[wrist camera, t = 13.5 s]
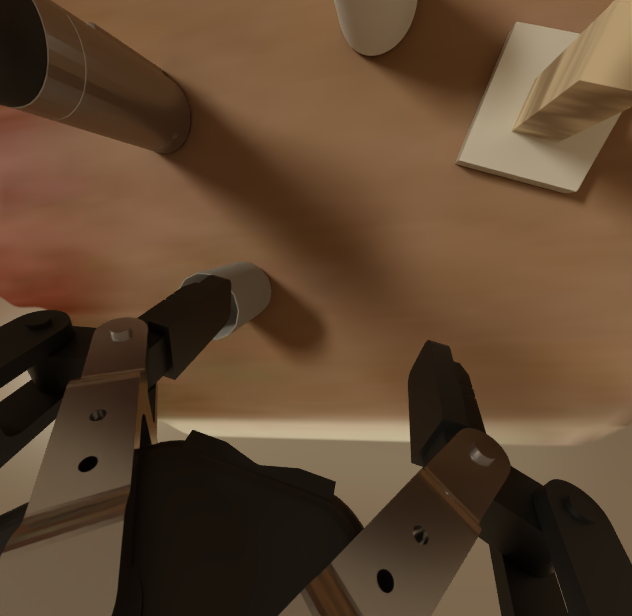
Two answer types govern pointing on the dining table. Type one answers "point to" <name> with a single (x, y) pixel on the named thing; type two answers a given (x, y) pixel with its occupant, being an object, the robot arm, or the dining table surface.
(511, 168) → the block
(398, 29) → the pill bottle
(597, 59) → the maple block
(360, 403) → the dining table surface
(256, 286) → the cup
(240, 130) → the dining table surface
